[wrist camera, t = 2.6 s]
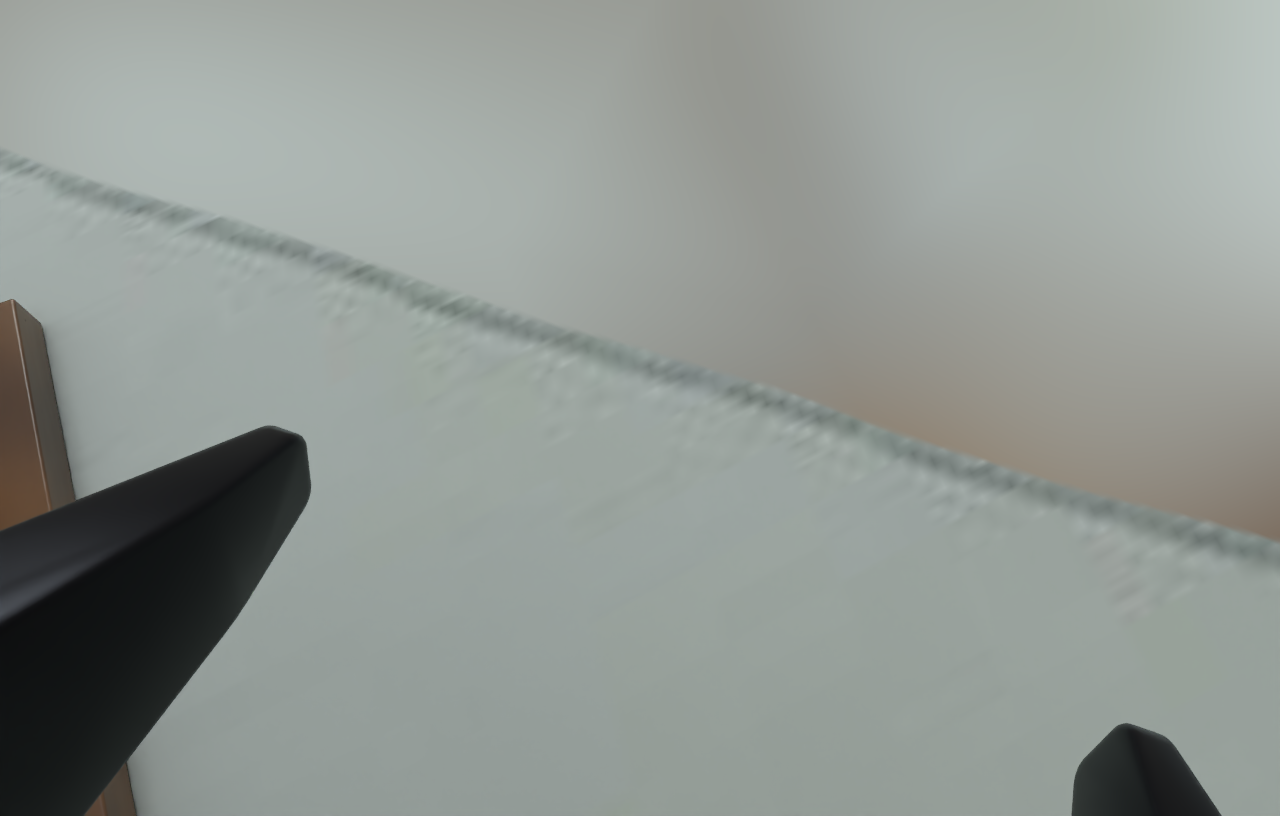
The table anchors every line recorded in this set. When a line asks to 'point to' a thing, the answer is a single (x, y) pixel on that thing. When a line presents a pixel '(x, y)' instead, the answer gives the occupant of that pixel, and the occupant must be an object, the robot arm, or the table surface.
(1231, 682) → the table surface
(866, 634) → the table surface
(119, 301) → the table surface
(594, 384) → the table surface
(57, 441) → the cutting board
